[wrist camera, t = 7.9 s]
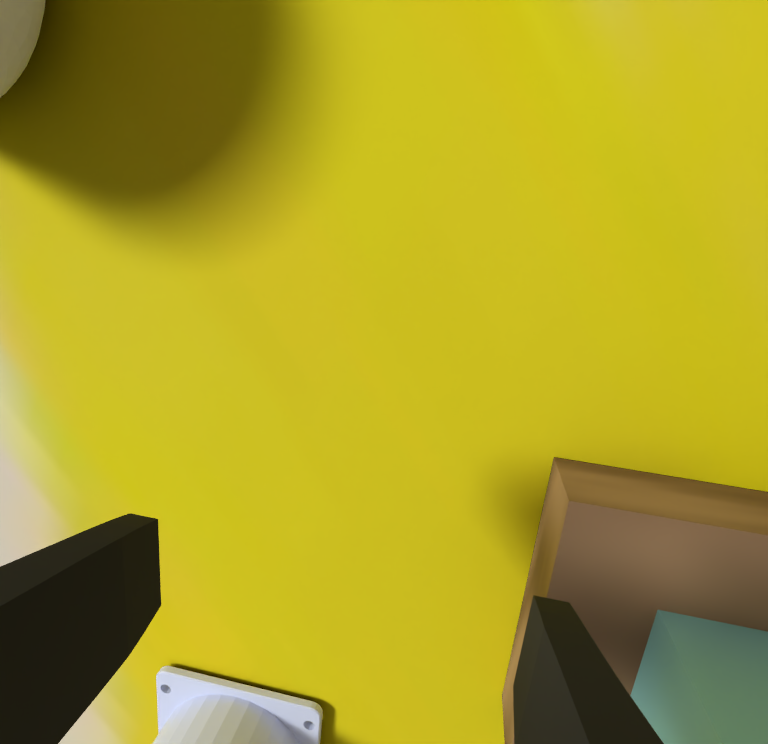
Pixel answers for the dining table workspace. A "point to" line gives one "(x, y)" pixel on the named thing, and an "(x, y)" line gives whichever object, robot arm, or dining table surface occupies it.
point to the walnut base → (643, 558)
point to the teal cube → (704, 681)
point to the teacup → (17, 37)
